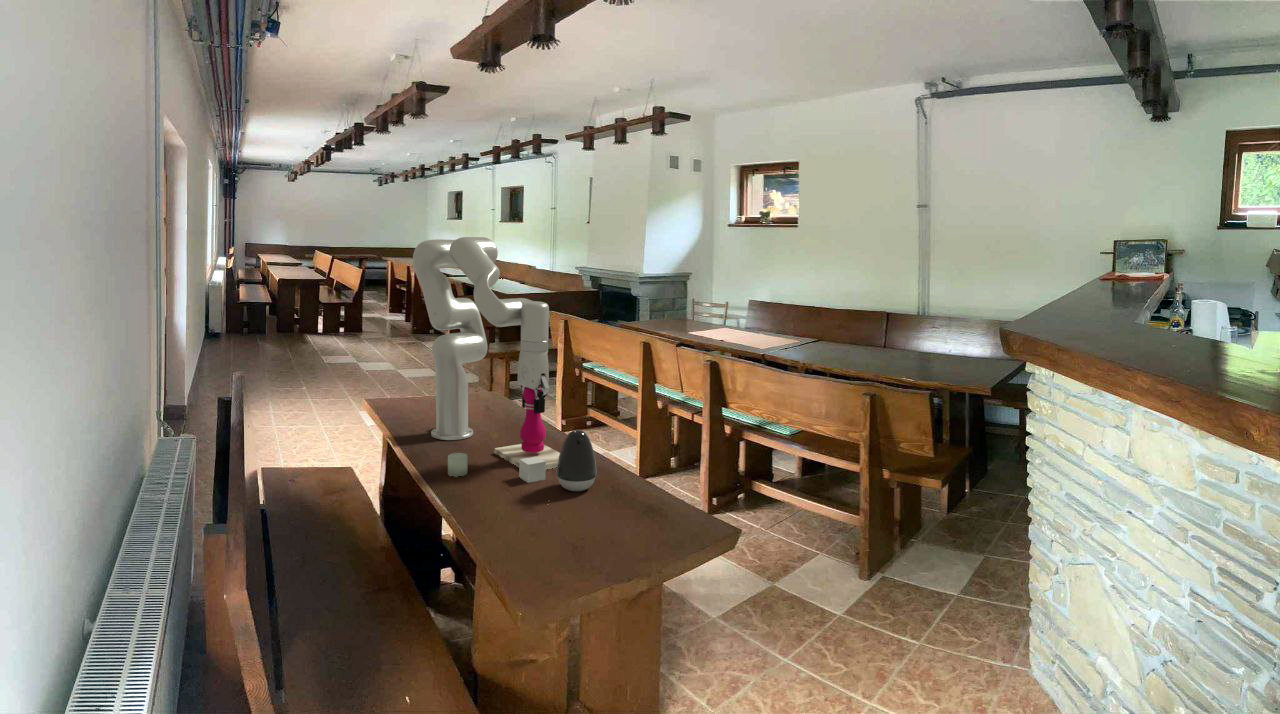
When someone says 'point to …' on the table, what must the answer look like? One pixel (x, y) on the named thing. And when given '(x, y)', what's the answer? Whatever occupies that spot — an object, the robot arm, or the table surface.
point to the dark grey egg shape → (576, 462)
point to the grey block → (532, 469)
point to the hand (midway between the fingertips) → (533, 409)
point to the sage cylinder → (457, 464)
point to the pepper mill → (532, 425)
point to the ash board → (528, 455)
